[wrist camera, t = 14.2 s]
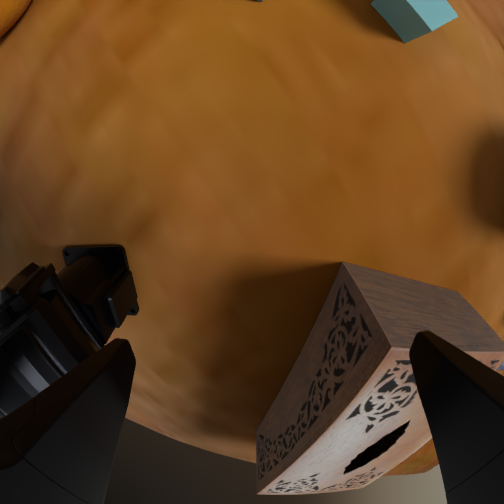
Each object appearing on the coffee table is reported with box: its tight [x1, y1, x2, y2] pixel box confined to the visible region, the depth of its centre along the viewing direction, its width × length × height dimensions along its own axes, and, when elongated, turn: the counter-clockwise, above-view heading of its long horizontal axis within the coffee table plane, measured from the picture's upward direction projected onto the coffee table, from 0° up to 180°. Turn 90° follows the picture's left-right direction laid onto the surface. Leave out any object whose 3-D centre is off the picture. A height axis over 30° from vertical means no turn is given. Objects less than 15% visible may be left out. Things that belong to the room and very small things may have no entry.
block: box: [371, 0, 458, 43], centre depth 11 cm, size 4×4×4 cm
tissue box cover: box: [256, 262, 504, 495], centre depth 22 cm, size 26×14×10 cm, turn 166°
